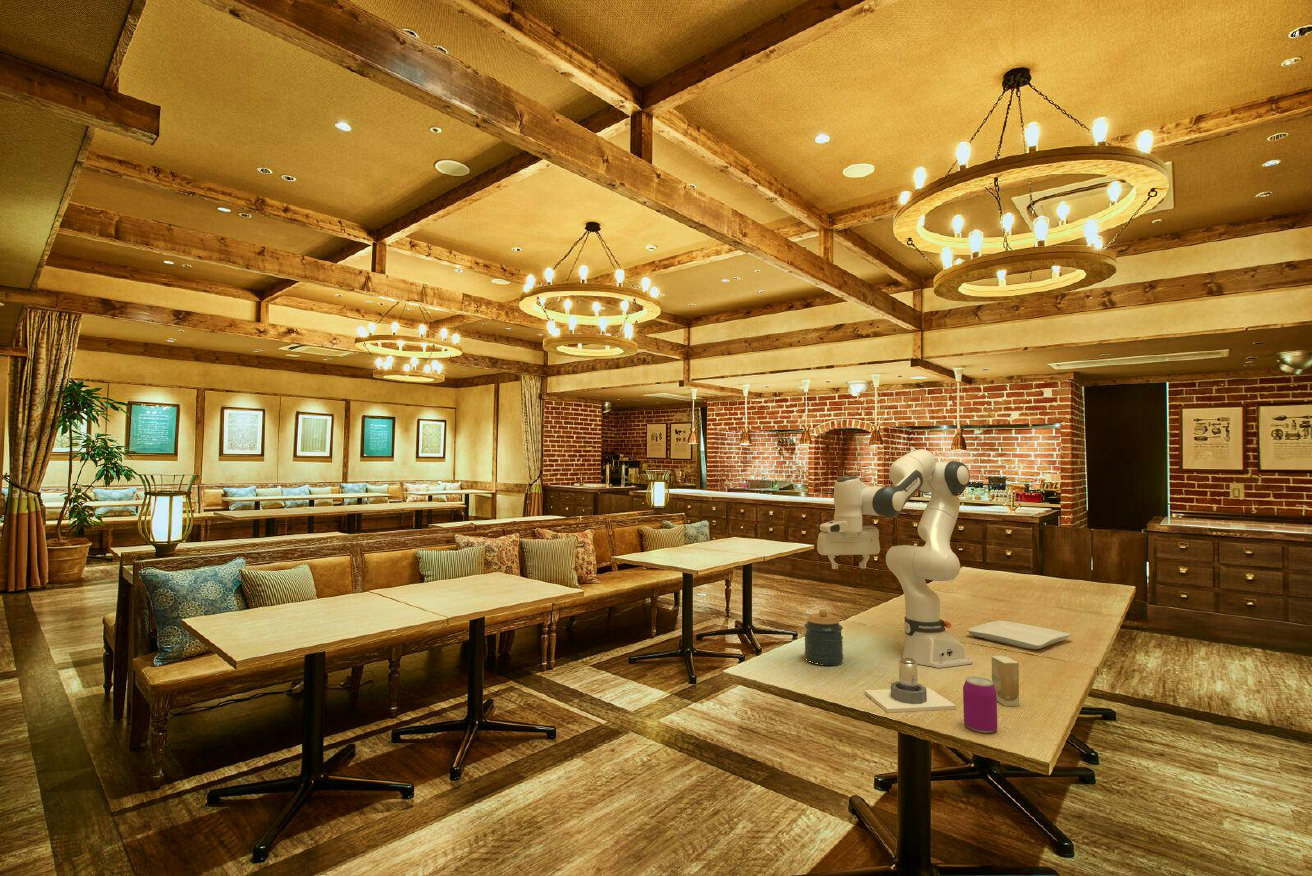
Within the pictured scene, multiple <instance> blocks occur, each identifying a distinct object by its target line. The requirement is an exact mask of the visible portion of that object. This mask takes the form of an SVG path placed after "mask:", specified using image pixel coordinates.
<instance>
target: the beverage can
mask: <svg viewBox="0 0 1312 876" xmlns="http://www.w3.org/2000/svg"><path fill="white" fill-rule="evenodd" d="M962 703H963V706H962V707H963V722H964V725H965V726H966V727H967V728H968V729H970V730H972V731H973V732H976V733H980V734H991V733H995V731H997V729H998V701H997V691H996V689H995V687H994V684H993V682H992V679H989V678H986V677H981V676H976V675H975V676H967V677H966V678H965V681H964V683H963V686H962Z"/></svg>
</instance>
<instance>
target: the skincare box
mask: <svg viewBox="0 0 1312 876" xmlns="http://www.w3.org/2000/svg"><path fill="white" fill-rule="evenodd" d="M1019 664H1020V663H1019V662H1018V661H1015V660H1014V659H1013V658H1010V657H1008V656H1006V655H991V681H992V682H993V684H994V687H995V689H996V691H997V703H1000V704H1001V705H1003V706H1004V707H1018V706H1020V675H1019V673H1020V669H1019V666H1020V665H1019Z"/></svg>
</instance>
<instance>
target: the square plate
mask: <svg viewBox="0 0 1312 876" xmlns="http://www.w3.org/2000/svg"><path fill="white" fill-rule="evenodd" d="M966 632H968V633H969V634H970V635H971V636H974V637H975V638H976V637H977V638H980V639H983V638H984V640H986V641H987V640H988V641H991V642H995V643H1000V644H1005V645H1009V646H1013V647H1016V648H1017V647H1018V648H1021V649H1022V648H1023V649H1028V650H1040V649H1043V648H1045V647H1048V646H1050V645H1053V644H1056V643H1059V642H1062V641H1064V640H1067V639H1068V638H1069V637H1071V636H1072V634H1071V633H1069V632H1064V631H1060V630H1054V629H1052V628H1051V629H1050V628H1044V627H1041V626H1036V625H1031V624H1025V623H1019V622H1013V621H1006V620H996V621H989V622H987V623H981V624H978V625H975V626H973V627H969V628H967V629H966Z"/></svg>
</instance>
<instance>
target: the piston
mask: <svg viewBox="0 0 1312 876" xmlns="http://www.w3.org/2000/svg"><path fill="white" fill-rule="evenodd" d="M898 665H899V666H898V669H899V670H898V672H899V676H898V677H899V679H898V680H899V681H900V689H901V690H904V691H918V684H919V683H918V664H917V662H916V661H915V660H914V659H911V658H902V657H901V658H900V660H899V661H898Z"/></svg>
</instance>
